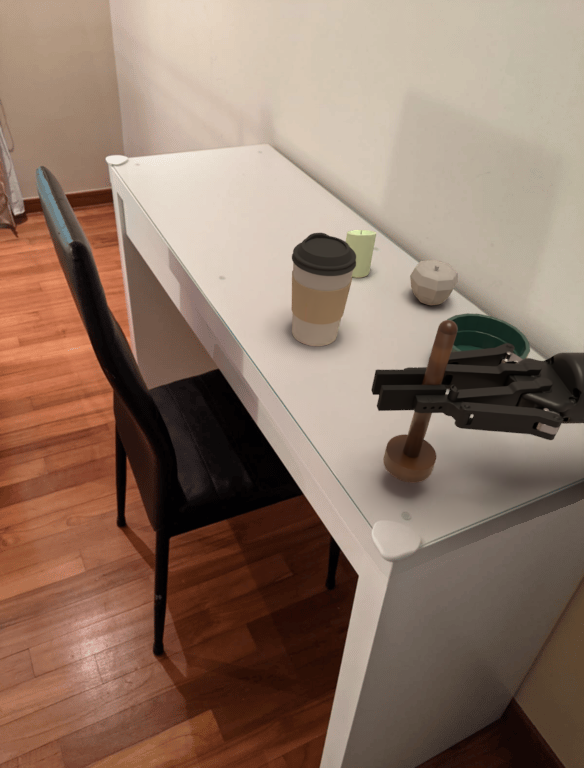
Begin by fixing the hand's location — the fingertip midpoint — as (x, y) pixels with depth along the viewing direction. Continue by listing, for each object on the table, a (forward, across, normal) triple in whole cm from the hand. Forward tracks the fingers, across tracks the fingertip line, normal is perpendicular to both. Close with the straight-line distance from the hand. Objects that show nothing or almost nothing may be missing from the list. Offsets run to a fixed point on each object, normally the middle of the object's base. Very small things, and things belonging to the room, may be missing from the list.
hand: (377, 390), depth 61 cm
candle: (-10, +50, -14) cm, 52 cm away
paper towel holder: (-6, 0, -11) cm, 12 cm away
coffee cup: (0, +30, -14) cm, 33 cm away
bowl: (-22, +21, -14) cm, 33 cm away
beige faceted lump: (-21, +40, -14) cm, 47 cm away
